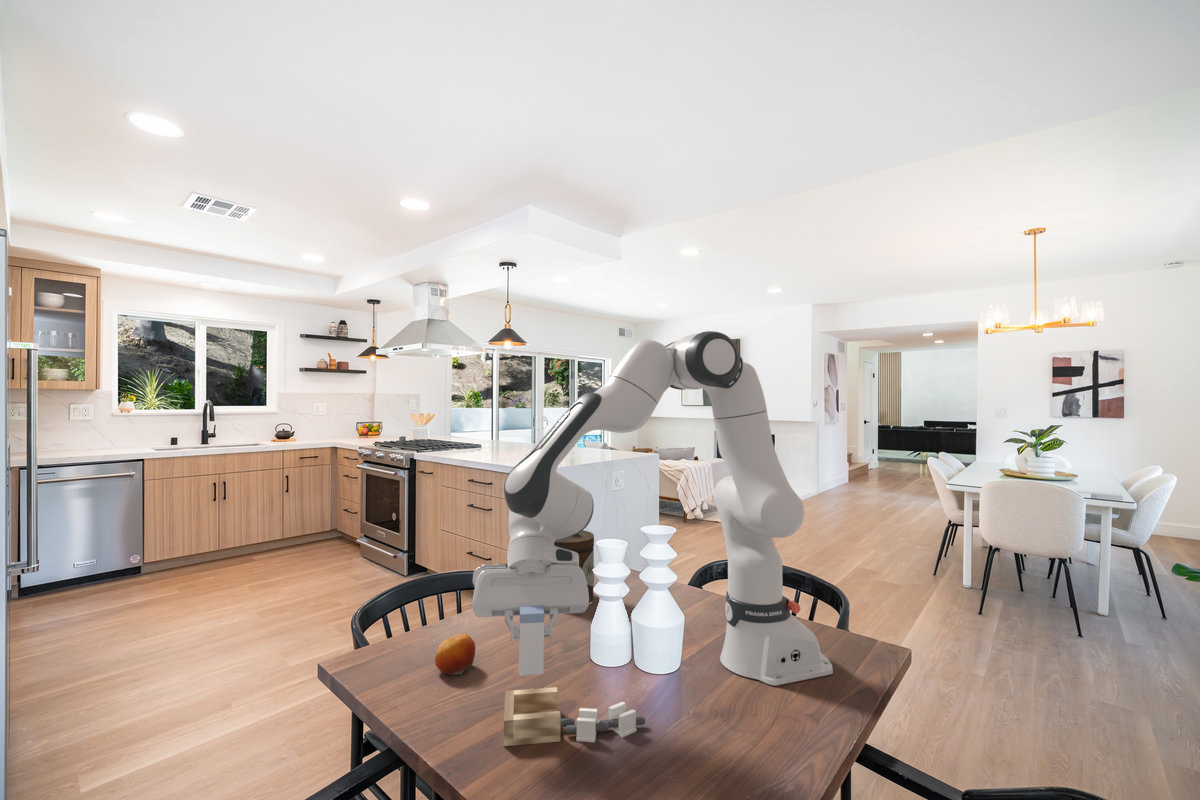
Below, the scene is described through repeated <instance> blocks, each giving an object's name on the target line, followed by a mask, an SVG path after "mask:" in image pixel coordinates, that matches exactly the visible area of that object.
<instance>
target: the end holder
mask: <svg viewBox="0 0 1200 800" xmlns="http://www.w3.org/2000/svg"><path fill="white" fill-rule="evenodd" d="M504 692H505V694H504V710H503V711H504V712H503V747H511V746H520V745H521V746H522V745H523V746H524V745H532V744H545V743H554V742H555V743H556V742H561V727H560V721H561V719H562V718H561V717H562V716H561V711H560V710H558V687H556V686H555V687H542V688H540V687H539V688H529V689H527V688H526V689H514V690H505V691H504Z"/></svg>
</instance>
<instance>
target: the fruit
mask: <svg viewBox="0 0 1200 800" xmlns="http://www.w3.org/2000/svg"><path fill="white" fill-rule="evenodd" d="M434 656H435V658H434V663H435V666H436V667H437V669H438V670H439V671H440V673H442V674H444V675H446V676H447V675H449V676H453V675H461V676H463V673H464V672H465V670H467V668H474V669H476V667H475V666H474V665H473V663H474V661H475V660H474V659H475V656H476V643H475V640H474V639H473V638H472V637H471V636H470V635H468V634H467V633H463V634H462V633H458V634H456V635H452V636H451V637H448V638H447V639H444V640H443V641H442V642H440V644H439V647H438V648H437V650H436V654H435V655H434Z"/></svg>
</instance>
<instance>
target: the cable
mask: <svg viewBox="0 0 1200 800" xmlns="http://www.w3.org/2000/svg"><path fill="white" fill-rule="evenodd" d="M645 723H646V719H645V717H644V716H636V726H643V725H645ZM612 727H619V719H609V718H608V719H601V720H599V722H597V723H596V732H606V731H609V729H611V728H612ZM560 728H564V732H565V733H566V734H567V735H572V734H577V724H576V719H574V718H573V717H567V718H566V717H565V718H561V721H560Z"/></svg>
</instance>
